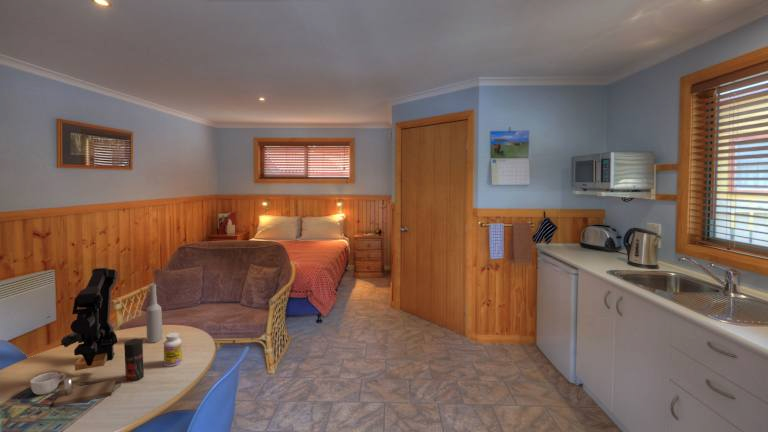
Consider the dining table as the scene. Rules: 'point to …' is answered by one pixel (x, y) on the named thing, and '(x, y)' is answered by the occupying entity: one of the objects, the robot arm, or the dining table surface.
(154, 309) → the bottle
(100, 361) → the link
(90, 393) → the board
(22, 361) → the dining table surface
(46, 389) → the teacup
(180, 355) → the supplement bottle
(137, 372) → the deodorant
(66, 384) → the keeper peg
